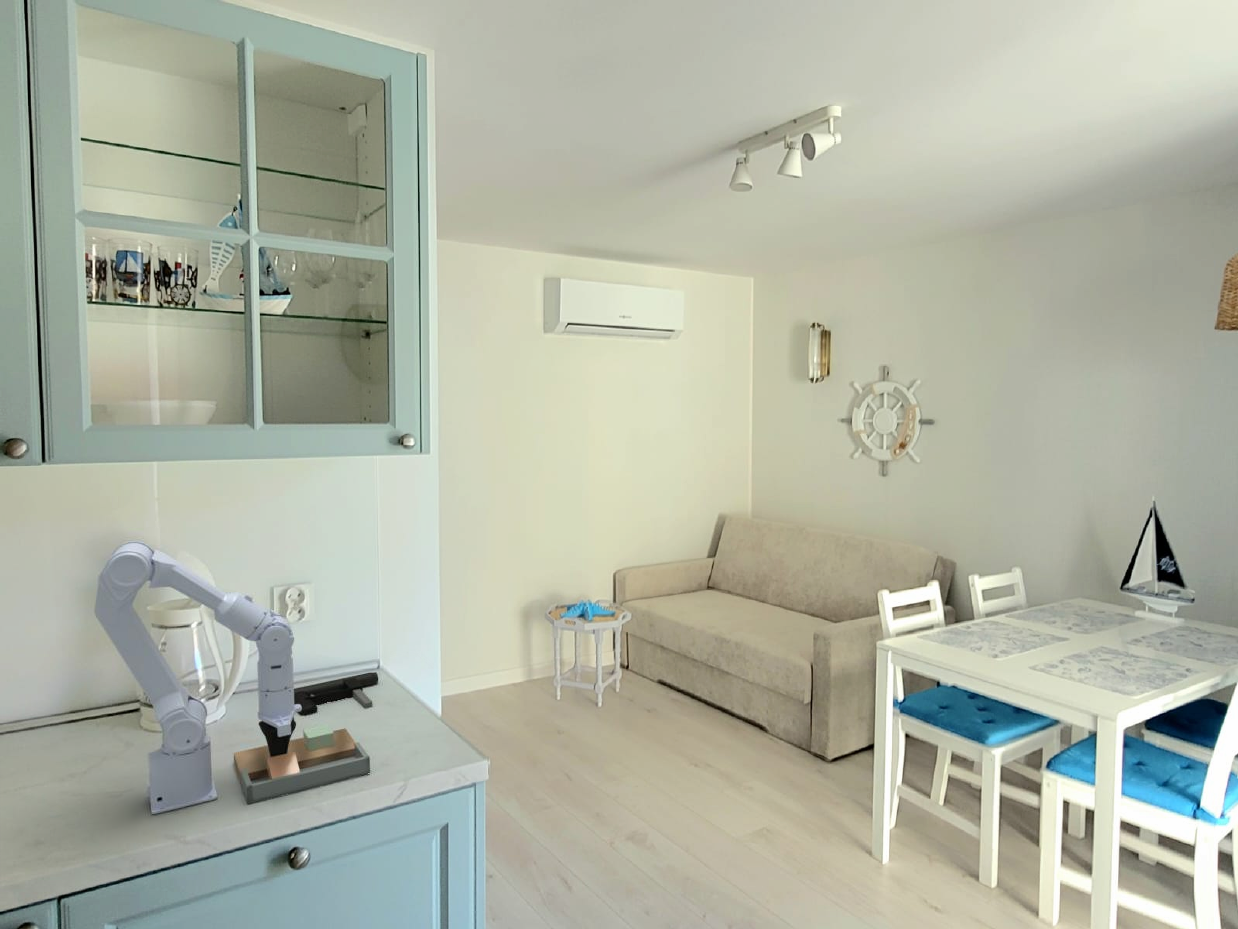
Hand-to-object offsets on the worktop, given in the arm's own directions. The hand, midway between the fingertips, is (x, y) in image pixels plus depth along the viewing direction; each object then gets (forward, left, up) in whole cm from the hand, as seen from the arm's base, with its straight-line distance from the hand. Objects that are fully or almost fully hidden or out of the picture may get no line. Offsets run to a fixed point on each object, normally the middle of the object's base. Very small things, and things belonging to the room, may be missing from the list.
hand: (278, 760), depth 138 cm
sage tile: (+8, +6, -1) cm, 10 cm away
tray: (+4, -3, -3) cm, 6 cm away
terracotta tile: (0, -2, -2) cm, 3 cm away
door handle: (+18, +31, -4) cm, 36 cm away
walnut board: (+4, +5, -3) cm, 8 cm away
